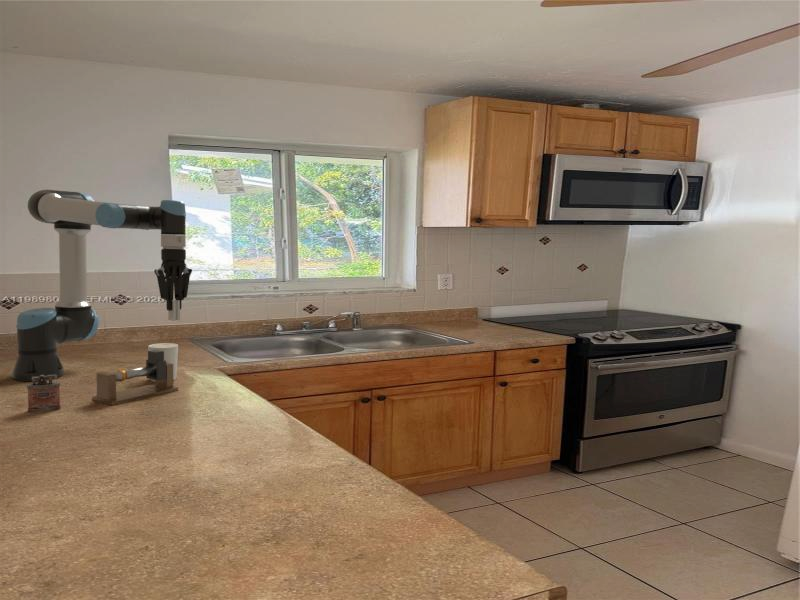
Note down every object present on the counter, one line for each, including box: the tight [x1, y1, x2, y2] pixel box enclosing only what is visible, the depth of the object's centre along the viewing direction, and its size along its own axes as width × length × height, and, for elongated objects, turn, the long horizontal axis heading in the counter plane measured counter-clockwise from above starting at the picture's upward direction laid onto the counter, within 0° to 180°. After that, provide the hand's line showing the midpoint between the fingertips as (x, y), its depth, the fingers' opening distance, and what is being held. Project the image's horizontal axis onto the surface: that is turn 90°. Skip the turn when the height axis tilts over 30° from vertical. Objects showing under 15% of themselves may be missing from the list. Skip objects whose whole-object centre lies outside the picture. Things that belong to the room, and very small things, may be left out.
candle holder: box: [147, 342, 179, 382], centre depth 211 cm, size 10×10×12 cm
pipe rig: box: [91, 362, 179, 406], centre depth 189 cm, size 10×23×9 cm, turn 147°
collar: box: [145, 350, 166, 381], centre depth 195 cm, size 6×3×9 cm, turn 57°
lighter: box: [26, 375, 62, 413], centre depth 171 cm, size 8×3×10 cm, turn 117°
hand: (174, 319), depth 199 cm, fingers closed
